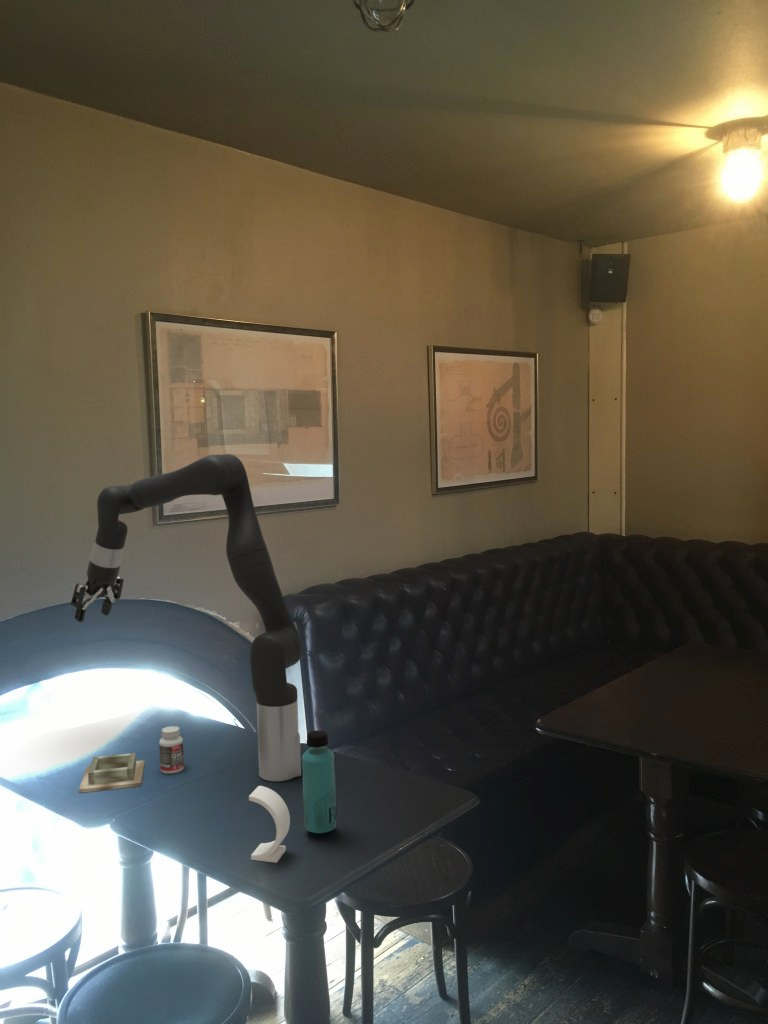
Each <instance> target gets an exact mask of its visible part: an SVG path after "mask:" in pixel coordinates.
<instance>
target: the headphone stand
mask: <svg viewBox="0 0 768 1024" xmlns="http://www.w3.org/2000/svg"><path fill="white" fill-rule="evenodd" d="M248 801H250V802H254V803H256V804H259V805H260V806H262V807H263V808H265V809H266V810H267V811H268V812H269V814H270V816H271V817H272V819H273V821H274V823H275V827H276V828H275V829H276V836H275V840H273V841H269V842H264V843H263V842H262V843H260V844H259V845H258V846H257V847H256V849H255V850H254V851H253V852H252V854H251V855H250V860H251V861H260V862H267V863H275V864H276V863H278V862H279V860H280V859H281V858H282V856H283V855H284V853H286V849H287V848H286V845H281V844H282V842H283V841H284V839H285V838H286V836H287V835H288V832H289V831H290V827H291V816H290V810H289V808H288V806H287V804H286V802H285V801H284V799H283V798H282V796H280V795H279V793H277V792H276V791H275V790H272V789H271V788H269V787H266V786H263V785H258V786H257V787H255V789H254V790H253V791H252V792H251V794H249V795H248Z"/></svg>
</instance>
